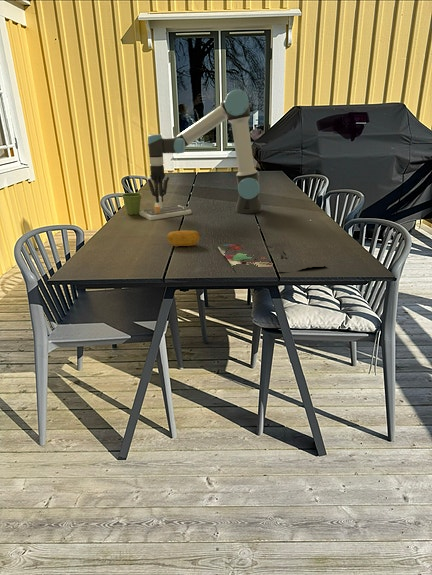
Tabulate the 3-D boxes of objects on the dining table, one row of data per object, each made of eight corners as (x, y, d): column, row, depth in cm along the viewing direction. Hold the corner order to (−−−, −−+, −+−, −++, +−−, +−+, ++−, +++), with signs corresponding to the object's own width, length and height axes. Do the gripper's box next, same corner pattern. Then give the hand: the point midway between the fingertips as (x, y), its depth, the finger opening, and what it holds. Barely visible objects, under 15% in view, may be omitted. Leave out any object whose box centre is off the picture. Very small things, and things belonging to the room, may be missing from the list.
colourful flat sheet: (239, 279, 144) (239, 274, 143) (216, 249, 175) (216, 245, 174) (327, 269, 151) (327, 264, 150) (290, 242, 182) (290, 238, 181)
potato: (168, 243, 182) (167, 228, 179) (200, 243, 181) (199, 228, 178) (166, 248, 175) (165, 233, 172) (199, 248, 175) (198, 233, 172)
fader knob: (160, 213, 225) (159, 206, 224) (156, 214, 224) (156, 206, 223) (158, 212, 228) (157, 205, 226) (154, 213, 227) (153, 205, 225)
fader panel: (191, 213, 233) (190, 203, 230) (150, 220, 220) (149, 209, 218) (179, 208, 245) (178, 198, 242) (139, 214, 233) (138, 204, 230)
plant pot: (139, 216, 229) (137, 196, 224) (120, 215, 231) (118, 196, 226) (146, 211, 239) (145, 192, 235) (128, 211, 242) (126, 192, 237)
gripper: (164, 163, 222) (167, 205, 232) (142, 165, 216) (146, 208, 226) (170, 164, 216) (173, 207, 226) (148, 166, 210) (152, 210, 220)
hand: (160, 207), depth 226 cm, fingers closed
